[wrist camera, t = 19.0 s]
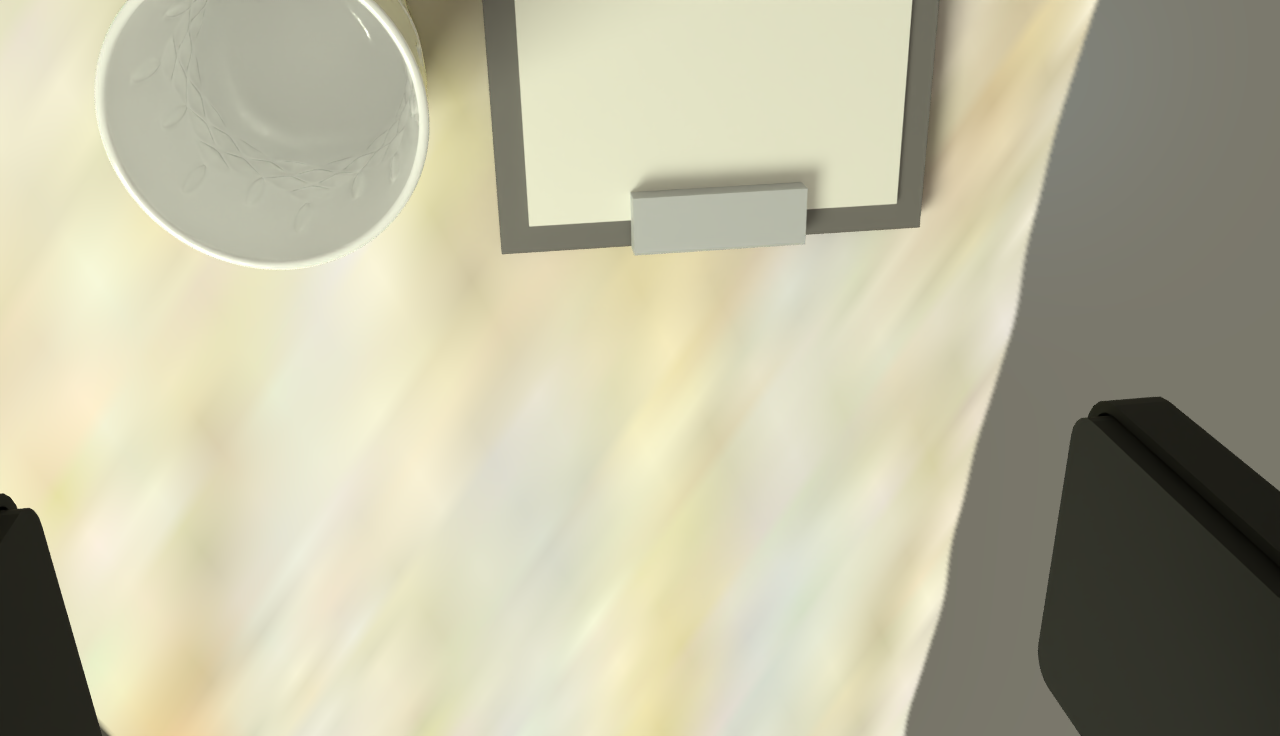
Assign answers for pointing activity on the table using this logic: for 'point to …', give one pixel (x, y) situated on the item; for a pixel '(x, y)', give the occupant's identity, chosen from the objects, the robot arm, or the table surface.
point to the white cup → (265, 122)
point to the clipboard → (706, 120)
